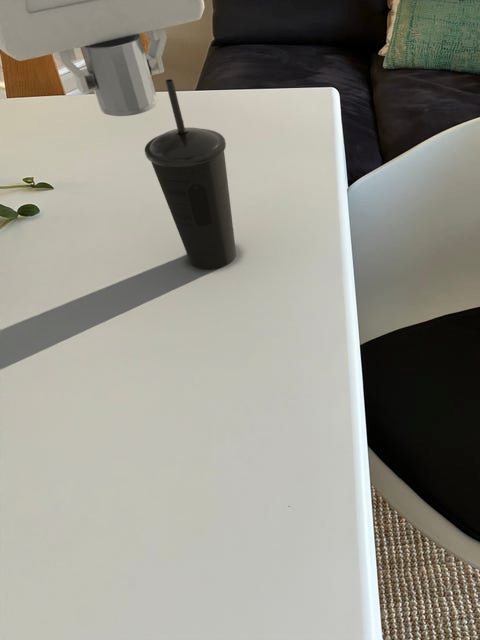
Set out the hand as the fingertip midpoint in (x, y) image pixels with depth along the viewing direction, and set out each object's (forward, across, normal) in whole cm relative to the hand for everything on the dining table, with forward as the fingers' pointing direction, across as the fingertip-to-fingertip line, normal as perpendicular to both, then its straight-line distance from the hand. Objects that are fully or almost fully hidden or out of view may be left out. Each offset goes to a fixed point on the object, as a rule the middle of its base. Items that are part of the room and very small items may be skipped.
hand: (122, 81), depth 82 cm
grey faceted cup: (+3, 0, 0) cm, 3 cm away
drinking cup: (+16, 0, -13) cm, 21 cm away
